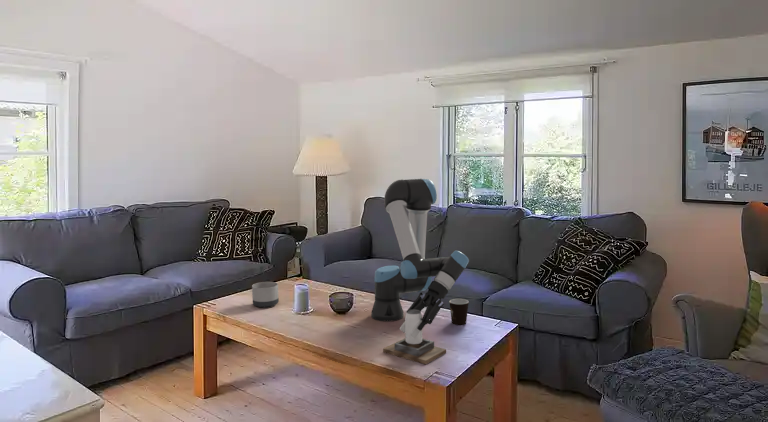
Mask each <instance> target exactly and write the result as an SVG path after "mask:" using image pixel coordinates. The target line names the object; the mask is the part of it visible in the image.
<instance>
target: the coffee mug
mask: <svg viewBox="0 0 768 422" xmlns="http://www.w3.org/2000/svg"><path fill="white" fill-rule="evenodd" d="M469 303H470V302H469V300H468V299H465V298H453V299H450V300H449V303H448V304H449V310H450V311H449V312H450V317H451V318H450V319H451V324H452V325H453V326H454V325H455V326H464V325H467V319H468V318H467V317H468V310H469V305H470V304H469Z"/></svg>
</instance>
